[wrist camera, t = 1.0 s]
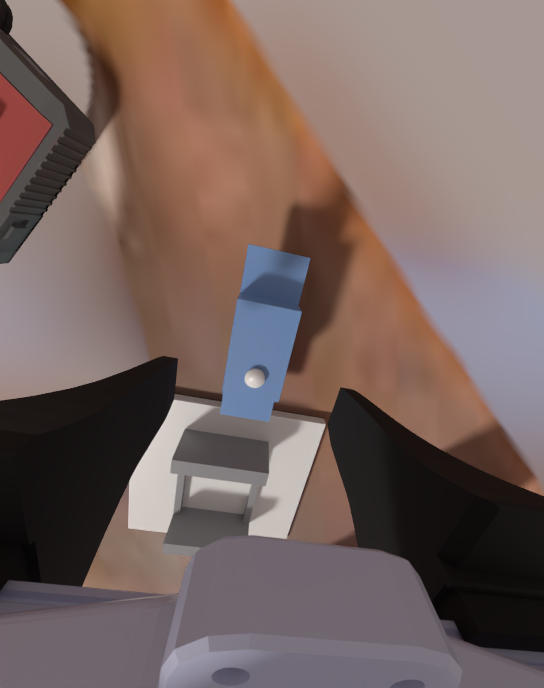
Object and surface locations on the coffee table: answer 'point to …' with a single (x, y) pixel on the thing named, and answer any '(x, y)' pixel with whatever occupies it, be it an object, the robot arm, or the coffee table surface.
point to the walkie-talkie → (33, 141)
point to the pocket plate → (221, 475)
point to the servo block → (263, 332)
